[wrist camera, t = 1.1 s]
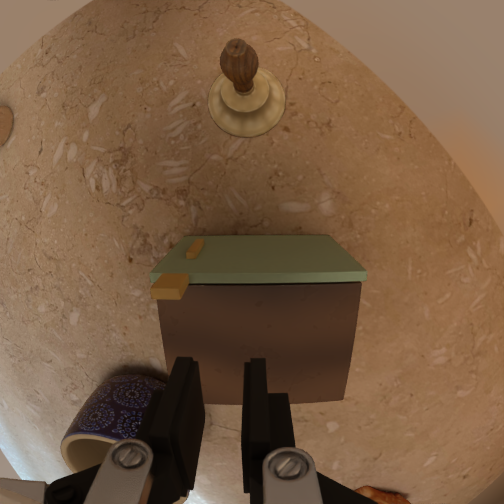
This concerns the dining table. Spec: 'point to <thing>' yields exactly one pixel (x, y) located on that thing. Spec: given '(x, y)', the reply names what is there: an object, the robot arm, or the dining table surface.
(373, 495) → the ceramic vessel
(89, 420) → the planter
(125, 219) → the dining table surface
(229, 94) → the hand bell
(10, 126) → the beer glass
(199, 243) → the sliding door
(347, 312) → the cupboard
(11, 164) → the dining table surface
